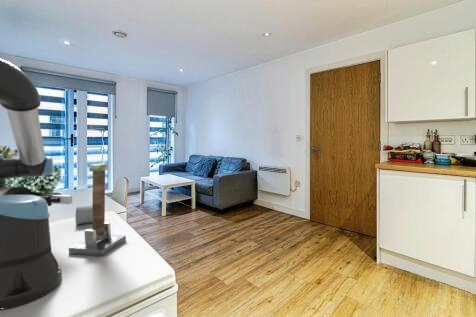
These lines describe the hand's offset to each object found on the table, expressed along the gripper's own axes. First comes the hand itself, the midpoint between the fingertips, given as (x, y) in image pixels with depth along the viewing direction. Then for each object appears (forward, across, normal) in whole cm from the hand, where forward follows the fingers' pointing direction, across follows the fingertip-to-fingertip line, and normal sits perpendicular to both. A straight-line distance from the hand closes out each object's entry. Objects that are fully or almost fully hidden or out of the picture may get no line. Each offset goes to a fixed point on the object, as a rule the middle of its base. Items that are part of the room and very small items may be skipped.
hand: (70, 199), depth 84 cm
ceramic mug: (-14, -22, -16) cm, 31 cm away
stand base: (+10, 0, -16) cm, 19 cm away
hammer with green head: (+10, 0, -14) cm, 17 cm away
